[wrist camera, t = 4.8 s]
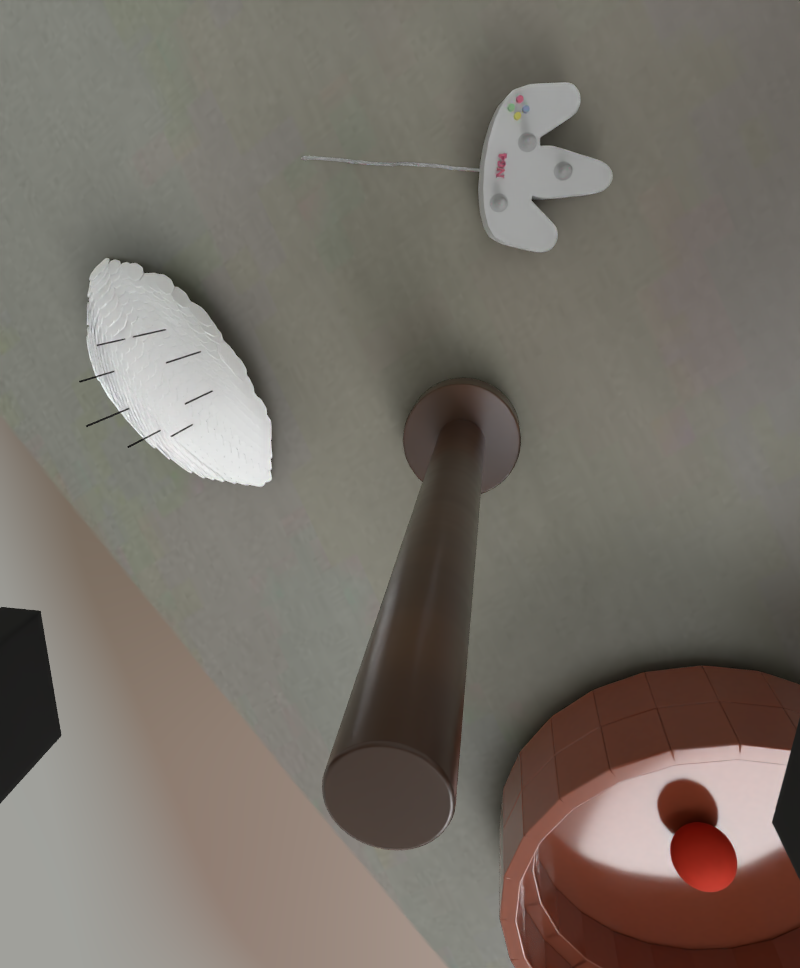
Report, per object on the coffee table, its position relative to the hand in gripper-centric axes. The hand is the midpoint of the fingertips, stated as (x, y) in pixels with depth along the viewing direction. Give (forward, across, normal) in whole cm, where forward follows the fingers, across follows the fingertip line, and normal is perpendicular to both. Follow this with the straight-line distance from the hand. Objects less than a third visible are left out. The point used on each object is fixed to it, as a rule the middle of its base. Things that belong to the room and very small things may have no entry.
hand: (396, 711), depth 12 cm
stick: (+20, 0, 0) cm, 20 cm away
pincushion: (+20, -12, +2) cm, 23 cm away
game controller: (+20, -1, +11) cm, 23 cm away
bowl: (+20, +13, -20) cm, 31 cm away
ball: (+17, +13, -20) cm, 30 cm away
